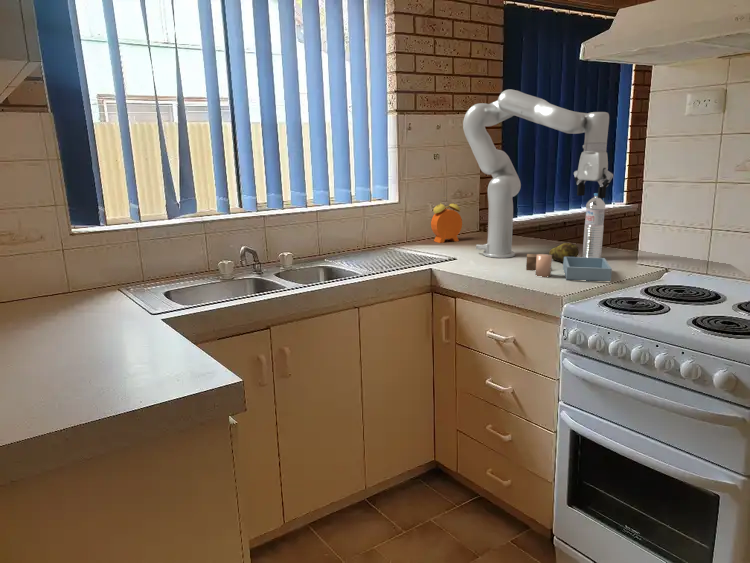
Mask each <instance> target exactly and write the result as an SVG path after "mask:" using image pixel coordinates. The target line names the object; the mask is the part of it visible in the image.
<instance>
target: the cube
mask: <svg viewBox="0 0 750 563" xmlns="http://www.w3.org/2000/svg"><path fill="white" fill-rule="evenodd" d="M538 254H539V253H526V263H525V264H526V265H525V266H526V268H525V270H526V271H533V270H536V256H537V255H538Z"/></svg>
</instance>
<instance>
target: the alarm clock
mask: <svg viewBox="0 0 750 563" xmlns="http://www.w3.org/2000/svg"><path fill="white" fill-rule="evenodd" d="M443 198H448V197H443ZM449 208H450V209H449ZM432 211H433V216H432V218H431V222H430V227H431V230H432V233H433V235H435V238H434V239H433V241H434V242H436V243H439V244H443V243H445V241H446V240H449V241H452V242H459V241H460V240H459V238H458V235H459V234H460V233H461V230H462V228H463V219H462V217H461V215H460V213H459V212H461V207H460V206H459V205H458V204H457V203H449V205H448V206H445V204H443V203H439V204H436V206H435V207H433V210H432Z"/></svg>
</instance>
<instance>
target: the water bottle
mask: <svg viewBox="0 0 750 563" xmlns="http://www.w3.org/2000/svg"><path fill="white" fill-rule="evenodd" d="M585 210H586V211H585V220H584V230H583V244H582V256H581V257H589V258H602V250H603V249H602V248H603V239H604V238H603V237H604V227H605V226H604V221H605V210H606V203H605V201H604V200H603V198H598V192H595V193H593V197H591V199H589V200H588V201H587V202H586V205H585Z"/></svg>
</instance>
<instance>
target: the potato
mask: <svg viewBox="0 0 750 563" xmlns="http://www.w3.org/2000/svg"><path fill="white" fill-rule="evenodd" d="M548 251H549V252H548V255H552V260H553V261H557V262H561V263H563V262H564V257H579V253H580V252H579V251H580V250H579V248H578V246H577V245H576V244H575V243H572V242H564V243H561V244H560V245H558V246H555V247H553V248H551V249H550V250H548Z"/></svg>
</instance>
